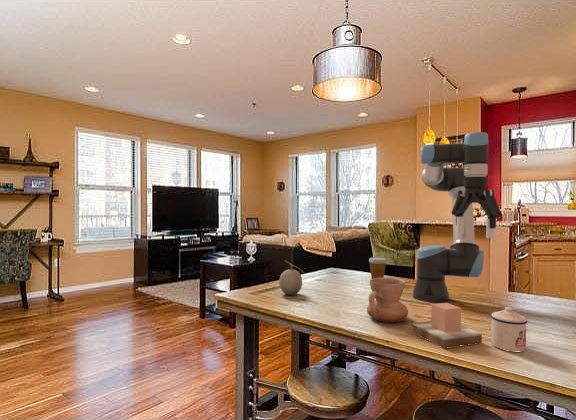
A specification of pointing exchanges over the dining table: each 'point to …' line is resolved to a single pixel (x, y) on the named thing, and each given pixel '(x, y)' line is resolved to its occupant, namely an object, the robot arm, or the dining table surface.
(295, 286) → the fruit
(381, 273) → the disposable coffee cup
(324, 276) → the dining table surface
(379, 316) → the ceramic jug
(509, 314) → the teacup with lid
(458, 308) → the block
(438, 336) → the plinth
